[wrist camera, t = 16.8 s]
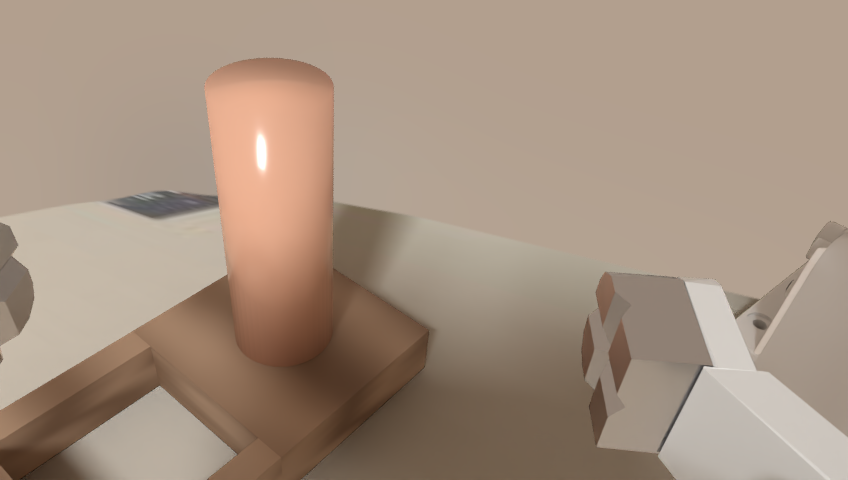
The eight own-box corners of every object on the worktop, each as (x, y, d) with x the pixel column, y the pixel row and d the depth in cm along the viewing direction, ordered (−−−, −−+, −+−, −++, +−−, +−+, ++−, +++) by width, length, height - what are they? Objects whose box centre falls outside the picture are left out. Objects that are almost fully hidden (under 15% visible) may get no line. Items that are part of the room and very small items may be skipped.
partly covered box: (289, 275, 44) (287, 238, 42) (424, 367, 39) (429, 330, 37) (-44, 490, 31) (-68, 451, 30) (95, 665, 26) (77, 632, 25)
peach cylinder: (338, 300, 39) (340, 63, 30) (325, 370, 35) (324, 122, 26) (247, 293, 38) (222, 52, 30) (224, 362, 34) (188, 110, 26)
